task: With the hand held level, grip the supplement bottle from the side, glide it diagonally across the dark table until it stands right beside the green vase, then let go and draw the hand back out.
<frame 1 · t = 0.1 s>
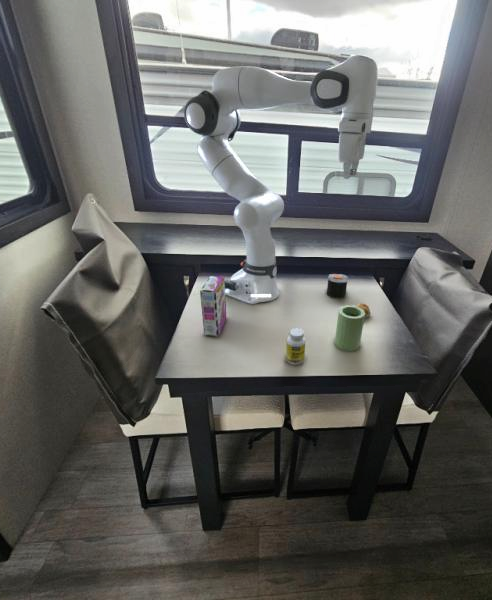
hand: (349, 176, 97), 48 cm above the table, tool pointing down, fingers open, 8 cm apart
pastry: (358, 315, 118), on the table
candy bar box: (216, 327, 106), on the table
sushi: (336, 293, 133), on the table
supplement bottle: (295, 359, 94), on the table
green vase: (347, 343, 102), on the table
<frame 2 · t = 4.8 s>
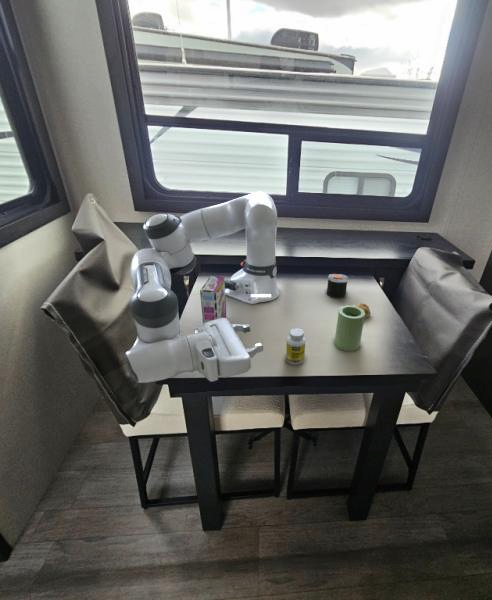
hand: (255, 336, 83), 12 cm above the table, tool horizontal, fingers open, 8 cm apart
nothing on the table moved.
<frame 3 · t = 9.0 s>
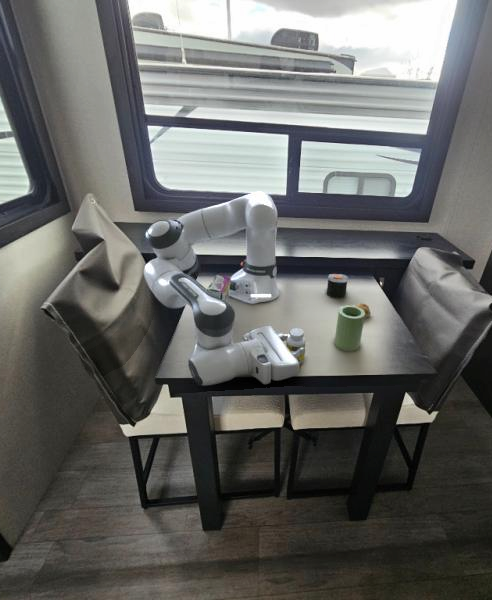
hand: (298, 343, 91), 6 cm above the table, tool horizontal, fingers closed on supplement bottle, 5 cm apart
candy bar box: (216, 326, 106), on the table, touching arm
supplement bottle: (295, 359, 94), on the table, touching gripper
everything else where it was.
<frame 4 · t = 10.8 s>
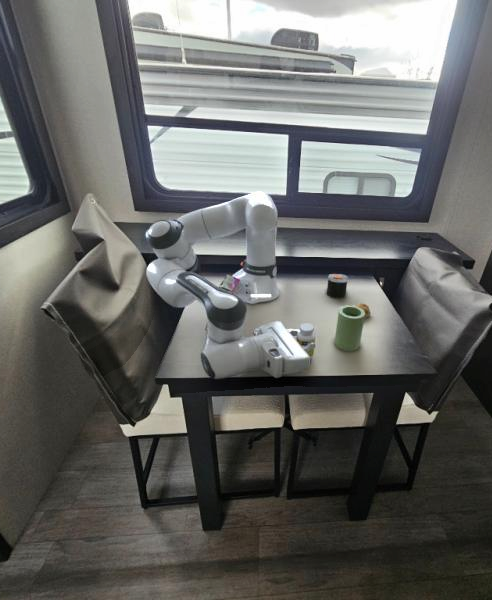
hand: (308, 338, 92), 7 cm above the table, tool horizontal, fingers closed on supplement bottle, 5 cm apart
supplement bottle: (304, 354, 95), point 1 cm above the table, touching gripper
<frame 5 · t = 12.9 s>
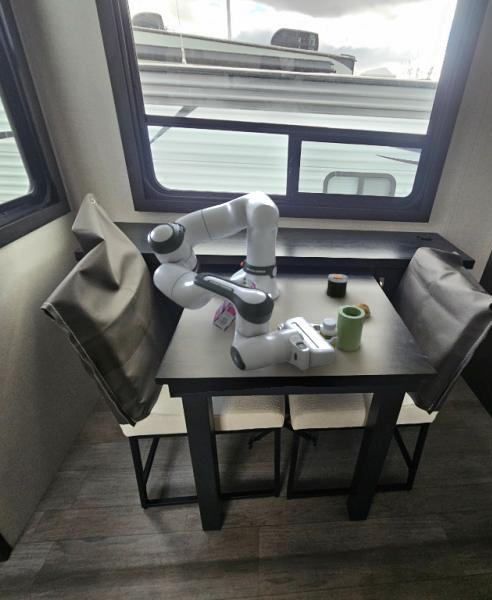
hand: (330, 332, 95), 7 cm above the table, tool horizontal, fingers closed on supplement bottle, 5 cm apart
candy bar box: (219, 321, 105), point 2 cm above the table, touching arm
supplement bottle: (326, 348, 98), point 1 cm above the table, touching gripper
everything else where it was.
when the fingers open (6 cm above the table, at t = 13.9 s): supplement bottle stays where it is, on the table.
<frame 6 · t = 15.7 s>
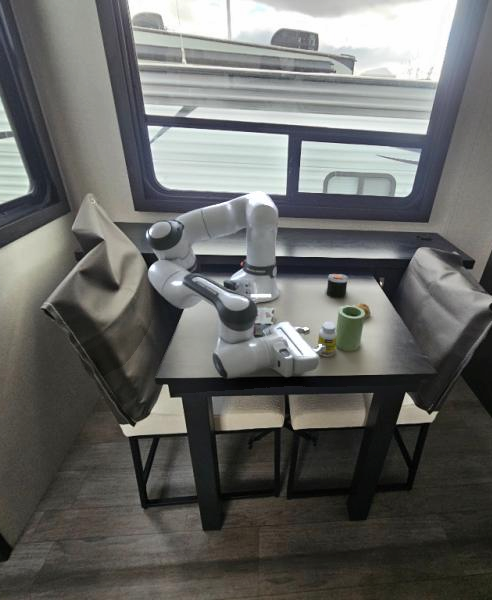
hand: (316, 338, 94), 6 cm above the table, tool horizontal, fingers open, 8 cm apart
candy bar box: (224, 320, 106), point 2 cm above the table
supplement bottle: (326, 352, 98), on the table
everything else where it was.
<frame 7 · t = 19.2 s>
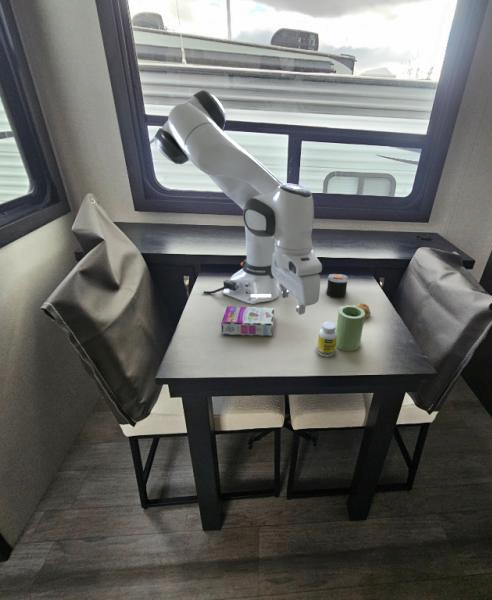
hand: (292, 304, 84), 19 cm above the table, tool pointing down, fingers open, 8 cm apart
nothing on the table moved.
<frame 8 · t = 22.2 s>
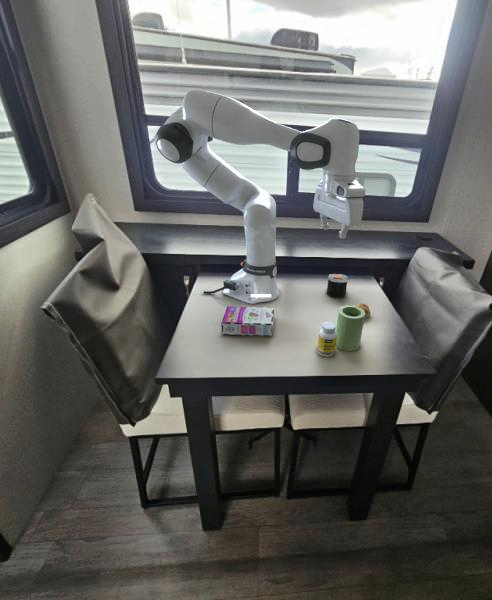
hand: (333, 233, 95), 33 cm above the table, tool pointing down, fingers open, 8 cm apart
nothing on the table moved.
at the end: supplement bottle 8.6 cm from the green vase (horizontally); supplement bottle tilted 0°; the gripper is holding nothing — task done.
